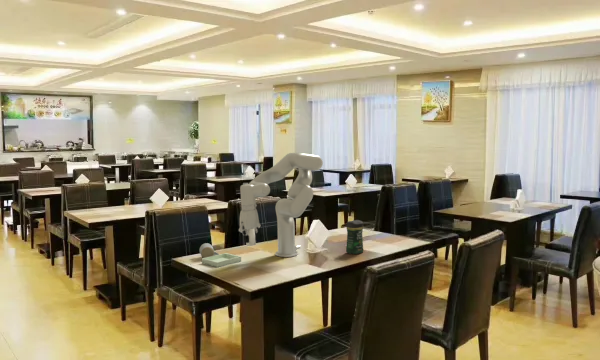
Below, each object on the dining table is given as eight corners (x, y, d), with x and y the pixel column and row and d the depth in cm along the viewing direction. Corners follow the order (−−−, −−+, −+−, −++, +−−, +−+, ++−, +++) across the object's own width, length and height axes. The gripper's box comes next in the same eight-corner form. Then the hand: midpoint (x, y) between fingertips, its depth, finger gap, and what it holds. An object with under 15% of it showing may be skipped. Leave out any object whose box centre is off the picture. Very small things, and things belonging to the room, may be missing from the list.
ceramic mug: (201, 260, 263) (201, 246, 262) (199, 257, 270) (199, 243, 270) (220, 259, 266) (220, 245, 265) (218, 255, 274) (218, 242, 273)
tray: (225, 257, 268) (225, 252, 268) (241, 261, 259) (241, 256, 259) (202, 263, 256) (201, 258, 256) (217, 267, 248) (217, 262, 247)
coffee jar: (354, 255, 269) (354, 222, 267) (343, 253, 275) (343, 220, 273) (365, 252, 275) (365, 220, 274) (355, 250, 281) (355, 218, 280)
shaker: (251, 243, 261) (250, 224, 260) (257, 244, 258) (256, 225, 257) (244, 245, 258) (243, 226, 256) (250, 246, 254) (249, 227, 253)
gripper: (255, 204, 264) (257, 237, 266) (231, 209, 252) (233, 243, 254) (265, 205, 259) (267, 239, 261) (241, 210, 247) (243, 245, 249)
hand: (250, 241), depth 257 cm, fingers closed on shaker, 5 cm apart
